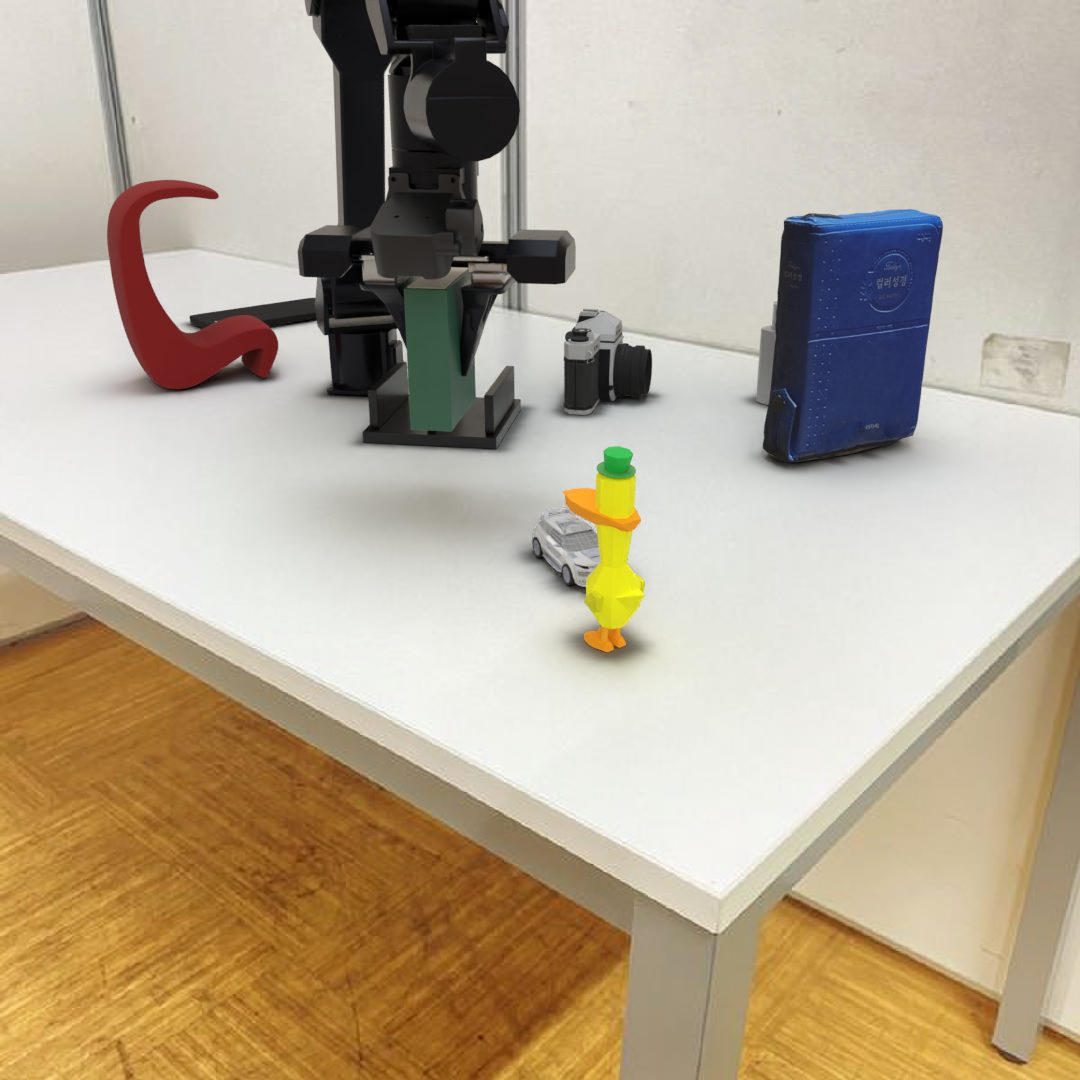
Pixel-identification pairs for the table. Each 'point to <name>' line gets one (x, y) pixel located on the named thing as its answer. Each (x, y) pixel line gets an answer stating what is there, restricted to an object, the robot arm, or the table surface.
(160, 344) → the chair
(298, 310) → the cell phone
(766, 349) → the power adapter
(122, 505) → the table surface
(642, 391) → the camera
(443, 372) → the small book
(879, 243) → the book
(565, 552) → the toy car
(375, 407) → the book rack
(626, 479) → the toy figure
